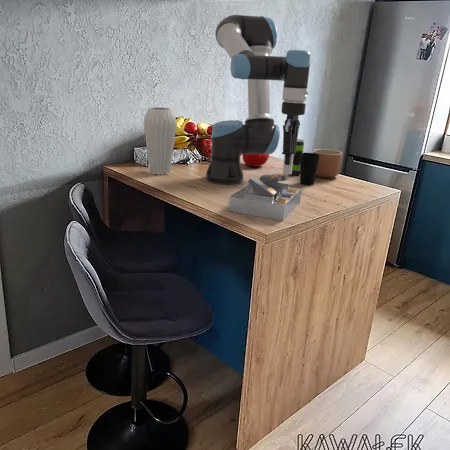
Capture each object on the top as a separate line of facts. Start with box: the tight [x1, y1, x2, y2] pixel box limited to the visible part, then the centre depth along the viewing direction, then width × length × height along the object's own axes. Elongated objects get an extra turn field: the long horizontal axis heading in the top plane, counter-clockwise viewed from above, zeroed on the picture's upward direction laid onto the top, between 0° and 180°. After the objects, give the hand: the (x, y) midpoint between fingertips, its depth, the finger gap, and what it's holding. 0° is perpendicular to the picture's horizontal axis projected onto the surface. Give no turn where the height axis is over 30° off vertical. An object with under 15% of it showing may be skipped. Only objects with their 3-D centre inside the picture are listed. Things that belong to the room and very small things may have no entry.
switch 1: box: [253, 173, 282, 188], centre depth 151 cm, size 9×4×2 cm, turn 67°
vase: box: [143, 106, 177, 174], centre depth 186 cm, size 13×13×26 cm
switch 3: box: [259, 172, 289, 182], centre depth 157 cm, size 9×4×2 cm, turn 67°
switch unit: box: [228, 181, 302, 222], centre depth 153 cm, size 18×22×6 cm
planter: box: [312, 148, 343, 179], centre depth 198 cm, size 12×12×11 cm
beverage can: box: [288, 138, 305, 177], centre depth 198 cm, size 6×6×15 cm
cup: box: [299, 152, 320, 187], centre depth 184 cm, size 8×8×12 cm
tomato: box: [241, 154, 270, 167], centre depth 211 cm, size 13×12×11 cm
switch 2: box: [247, 175, 277, 197], centre depth 144 cm, size 9×4×2 cm, turn 67°
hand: (287, 173), depth 154 cm, fingers closed
